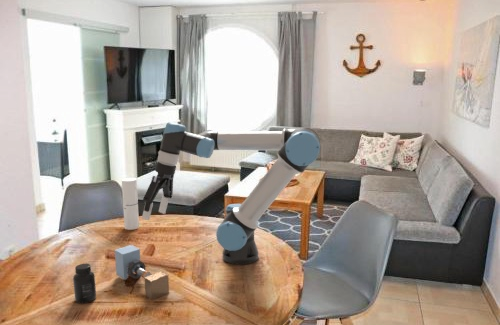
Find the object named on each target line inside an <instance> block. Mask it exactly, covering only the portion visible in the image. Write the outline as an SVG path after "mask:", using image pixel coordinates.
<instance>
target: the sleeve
mask: <svg viewBox="0 0 500 325" xmlns="http://www.w3.org/2000/svg"><path fill="white" fill-rule="evenodd" d="M140 251H141V250H140V248H138V247H136V246H135V245H133V244H129V245H126V246H123V247H121V248H116V249H114V257H115V259H114V260H115V275H116V276H118V277H119V278H121V279H122V280H124V281H125V280H128V279H127V278H129V275H128V270H127V264H128V263H131V262H132V261H135V260H139V261H141V252H140ZM137 266H139V267H140V264H138V265H137Z"/></svg>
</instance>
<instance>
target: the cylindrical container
mask: <svg viewBox="0 0 500 325" xmlns="http://www.w3.org/2000/svg"><path fill="white" fill-rule="evenodd" d="M121 188H122V189H121V191H122V207H123V208H122V209H123V221H124V222H123V223H124V224H123V225H124V229H125V230H126V231H127V230H129V231H131V230H132V231H133V230H136V229H139V228H140V218H139V217H140V216H139V200H138V198H139V197H138V182H137V178H136V177H126V178H122V179H121Z"/></svg>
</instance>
